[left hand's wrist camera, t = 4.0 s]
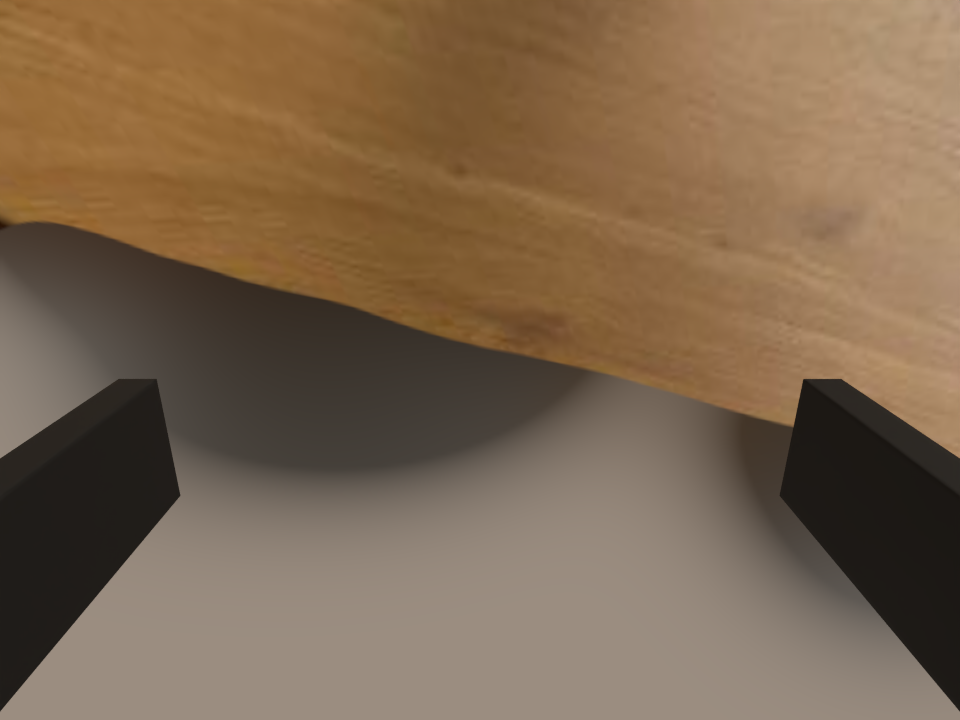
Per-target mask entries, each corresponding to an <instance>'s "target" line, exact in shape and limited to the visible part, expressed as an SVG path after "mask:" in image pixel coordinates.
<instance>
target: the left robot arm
mask: <svg viewBox="0 0 960 720" xmlns="http://www.w3.org/2000/svg"><path fill="white" fill-rule="evenodd" d="M179 497H180V492H179V487H178V482H177V477H176V472H175V467H174V462H173V457H172V453H171V448H170V443H169V438H168V433H167V428H166V423H165V418H164V413H163V409H162V404H161V399H160V394H159V389H158V384H157V379H118V380H117V381H115V382H114V383H112V384H111V385H109V386H108V387H106V388H105V389H103V390H102V391H100V392H99V393H97V394H96V395H94V396H93V397H91V398H90V399H88V400H87V401H85V402H84V403H82V404H81V405H79V406H78V407H76V408H75V409H73V410H72V411H70V412H69V413H67V414H66V415H65V416H63V417H61V418H60V419H59V420H57V421H56V422H54V423H53V424H51V425H50V426H48V427H47V428H45V429H44V430H42V431H41V432H39V433H38V434H36V435H35V436H33V437H32V438H30V439H29V440H27V441H26V442H24V443H23V444H21V445H20V446H18V447H17V448H15V449H14V450H12V451H11V452H9V453H8V454H6V455H5V456H3V457H2V458H0V711H1V710H2V709H3V707H4V706H5V705H6V704H7V703H8V701H9V700H10V699H11V698H12V697H13V695H14V694H15V693H16V692H17V691H18V689H19V688H20V687H21V686H22V685H23V683H24V682H25V681H26V680H27V679H28V677H29V676H30V675H31V674H32V673H33V671H34V670H35V669H36V668H37V667H38V665H39V664H40V663H41V662H42V661H43V659H44V658H45V657H46V656H47V655H48V653H49V652H50V651H51V650H52V649H53V647H54V646H55V645H56V644H57V643H58V641H59V640H60V639H61V638H62V637H63V635H64V634H65V633H66V632H67V631H68V629H69V628H70V627H71V626H72V625H73V624H74V622H75V621H76V620H77V619H78V617H79V616H80V615H81V614H82V613H83V612H84V610H85V609H86V608H87V607H88V606H89V604H90V603H91V602H92V601H93V600H94V598H95V597H96V596H97V595H98V594H99V592H100V591H101V590H102V589H103V588H104V586H105V585H106V584H107V583H108V582H109V580H110V579H111V578H112V577H113V576H114V574H115V573H116V572H117V571H118V570H119V568H120V567H121V566H122V565H123V564H124V562H125V561H126V560H127V559H128V558H129V556H130V555H131V554H132V553H133V552H134V550H135V549H136V548H137V547H138V546H139V544H140V543H141V542H142V541H143V540H144V538H145V537H146V536H147V535H148V534H149V533H150V531H151V530H152V529H153V528H154V526H155V525H156V524H157V523H158V522H159V521H160V519H161V518H162V517H163V516H164V515H165V513H166V512H167V511H168V510H169V508H170V507H171V506H172V505H173V504H174V503H175V501H176V500H177V499H178V498H179ZM780 497H781V498H782V499H783V500H784V501H785V503H786V504H787V505H788V506H789V507H790V509H791V510H792V511H793V512H794V513H795V515H796V516H797V517H798V518H799V519H800V521H801V522H802V523H803V524H804V525H805V526H806V528H807V529H808V530H809V531H810V533H811V534H812V535H813V536H814V537H815V539H816V540H817V541H818V542H819V543H820V544H821V546H822V547H823V548H824V549H825V550H826V552H827V553H828V554H829V555H830V556H831V558H832V559H833V560H834V561H835V562H836V564H837V565H838V566H839V567H840V568H841V570H842V571H843V572H844V573H845V574H846V576H847V577H848V578H849V579H850V580H851V582H852V583H853V584H854V585H855V586H856V588H857V589H858V590H859V591H860V592H861V594H862V595H863V596H864V597H865V598H866V600H867V601H868V602H869V603H870V604H871V606H872V607H873V608H874V609H875V610H876V612H877V613H878V614H879V615H880V616H881V618H882V619H883V620H884V621H885V622H886V624H887V625H888V626H889V627H890V628H891V630H892V631H893V632H894V633H895V634H896V636H897V637H898V638H899V639H900V640H901V641H902V643H903V644H904V645H905V646H906V647H907V649H908V650H909V651H910V652H911V653H912V655H913V656H914V657H915V658H916V659H917V661H918V662H919V663H920V664H921V665H922V667H923V668H924V669H925V670H926V671H927V673H928V674H929V675H930V676H931V677H932V679H933V680H934V681H935V682H936V683H937V685H938V686H939V687H940V688H941V689H942V691H943V692H944V693H945V694H946V695H947V697H948V698H949V699H950V700H951V701H952V703H953V704H954V705H955V706H956V707H957V709H958V710H959V711H960V458H958V457H957V456H955V455H954V454H952V453H951V452H949V451H948V450H946V449H945V448H943V447H942V446H940V445H939V444H937V443H936V442H934V441H933V440H931V439H930V438H928V437H927V436H925V435H924V434H922V433H921V432H919V431H918V430H916V429H915V428H913V427H912V426H910V425H909V424H907V423H906V422H904V421H903V420H901V419H900V418H899V417H897V416H896V415H894V414H893V413H891V412H890V411H888V410H887V409H885V408H884V407H882V406H881V405H879V404H878V403H876V402H875V401H873V400H872V399H870V398H869V397H867V396H866V395H864V394H863V393H861V392H860V391H858V390H857V389H855V388H854V387H852V386H851V385H849V384H848V383H846V382H845V381H843V380H842V379H803V384H802V389H801V394H800V399H799V403H798V408H797V413H796V418H795V423H794V428H793V433H792V438H791V443H790V448H789V453H788V457H787V462H786V467H785V472H784V477H783V482H782V487H781V492H780Z"/></svg>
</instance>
